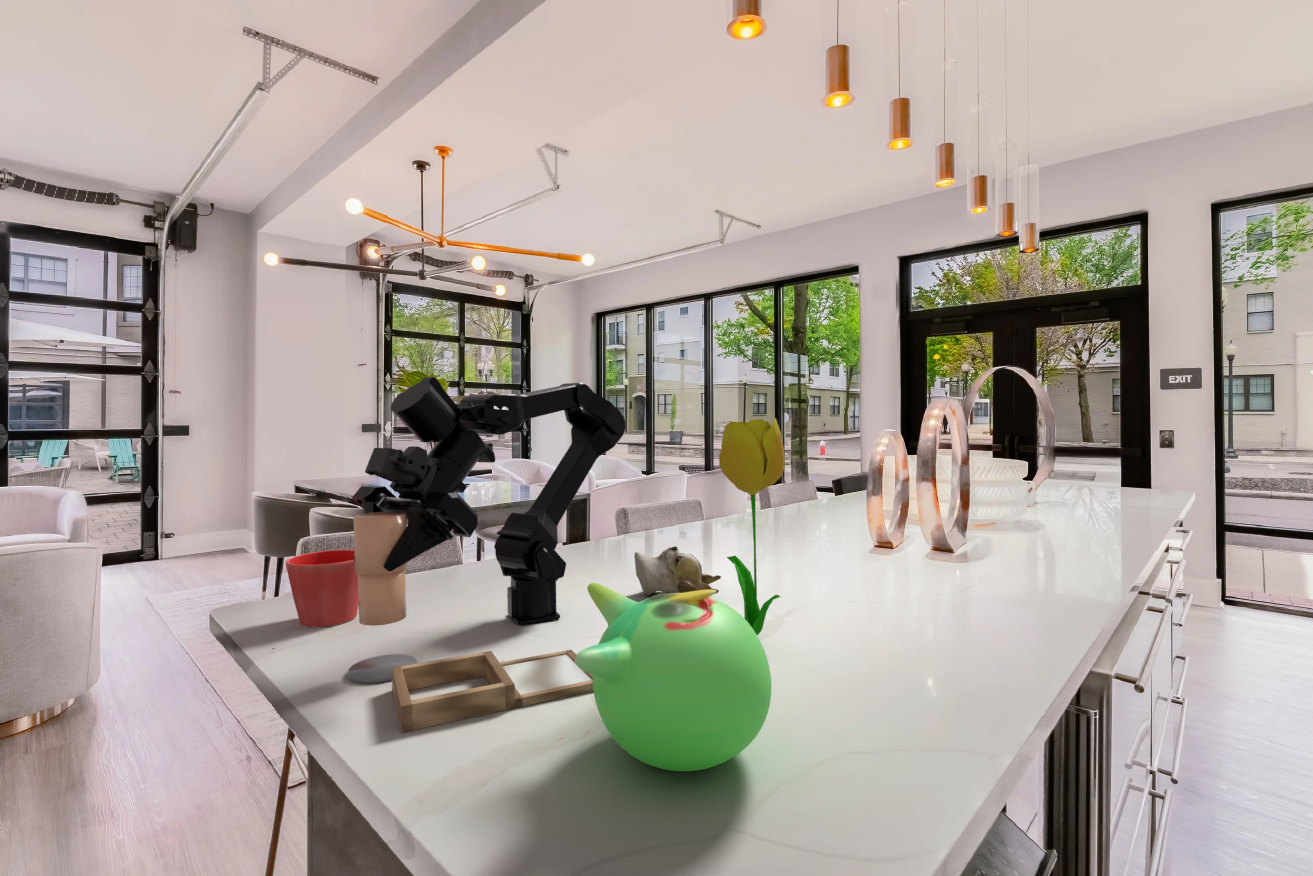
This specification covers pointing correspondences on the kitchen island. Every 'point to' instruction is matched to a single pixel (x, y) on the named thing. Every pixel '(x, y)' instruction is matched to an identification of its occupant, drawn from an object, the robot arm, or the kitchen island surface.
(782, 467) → the flower
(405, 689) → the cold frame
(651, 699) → the green round bird toy
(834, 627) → the kitchen island surface
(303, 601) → the flower pot
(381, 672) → the slate saucer
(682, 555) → the ceramic sculpture
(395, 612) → the tan stacked cylinder
